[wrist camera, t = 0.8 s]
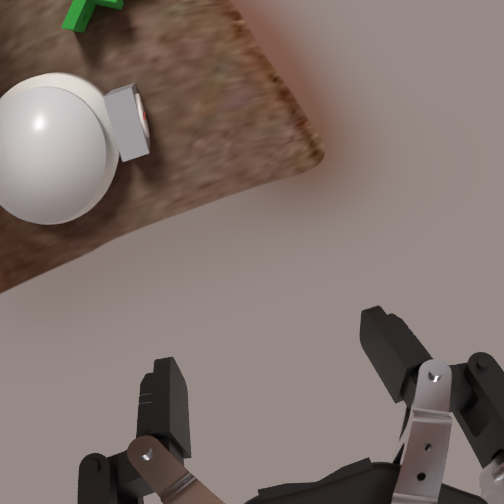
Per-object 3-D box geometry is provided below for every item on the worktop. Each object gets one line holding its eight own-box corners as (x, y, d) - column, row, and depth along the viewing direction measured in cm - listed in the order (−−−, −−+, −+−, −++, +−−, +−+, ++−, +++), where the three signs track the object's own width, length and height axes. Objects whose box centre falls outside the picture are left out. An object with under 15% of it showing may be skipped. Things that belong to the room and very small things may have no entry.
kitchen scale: (25, 227, 29) (12, 253, 25) (-24, 112, 19) (-48, 124, 15) (164, 176, 31) (167, 197, 27) (129, 39, 22) (124, 35, 18)
